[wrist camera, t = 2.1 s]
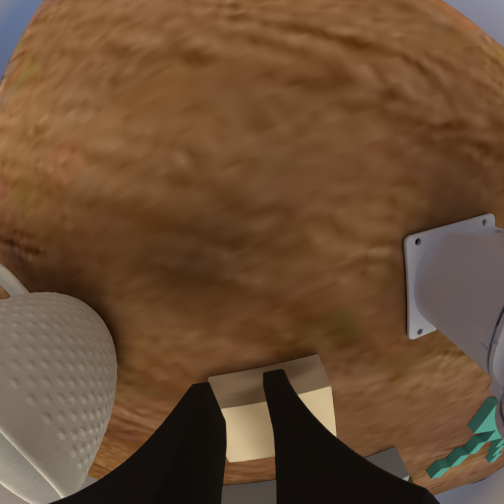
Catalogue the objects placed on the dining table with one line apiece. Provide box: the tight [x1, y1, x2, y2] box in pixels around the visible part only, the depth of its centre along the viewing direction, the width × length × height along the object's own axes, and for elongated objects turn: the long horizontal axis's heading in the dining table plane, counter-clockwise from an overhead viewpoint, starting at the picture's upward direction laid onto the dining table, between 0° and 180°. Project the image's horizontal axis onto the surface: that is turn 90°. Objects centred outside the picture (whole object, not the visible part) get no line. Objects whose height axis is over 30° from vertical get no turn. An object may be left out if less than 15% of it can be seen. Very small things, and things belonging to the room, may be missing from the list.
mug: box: [0, 263, 118, 504], centre depth 12 cm, size 15×11×13 cm
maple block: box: [208, 354, 336, 462], centre depth 18 cm, size 8×6×4 cm
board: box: [221, 447, 410, 504], centre depth 21 cm, size 22×2×4 cm, turn 103°
